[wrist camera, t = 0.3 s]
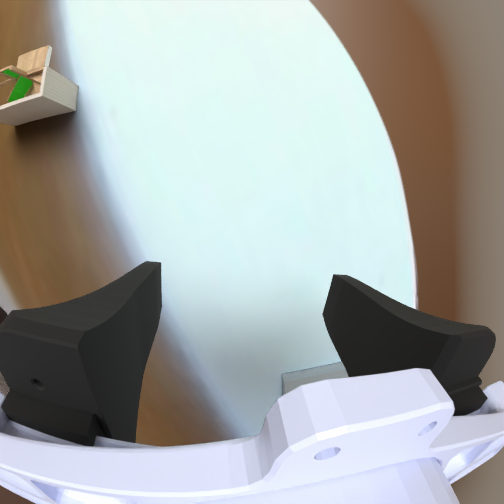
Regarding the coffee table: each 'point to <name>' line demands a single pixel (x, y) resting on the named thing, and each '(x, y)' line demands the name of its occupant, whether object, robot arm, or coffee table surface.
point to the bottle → (2, 315)
